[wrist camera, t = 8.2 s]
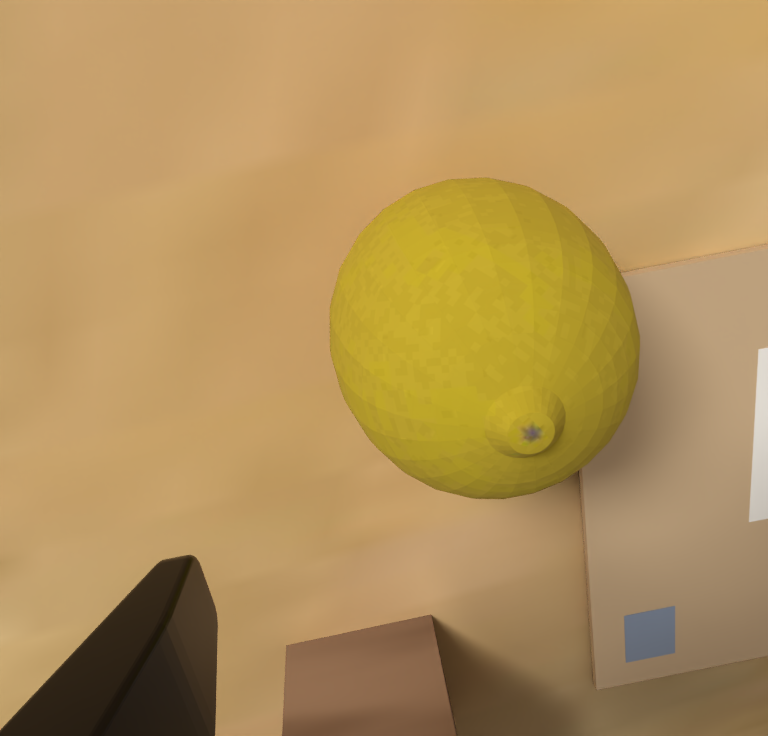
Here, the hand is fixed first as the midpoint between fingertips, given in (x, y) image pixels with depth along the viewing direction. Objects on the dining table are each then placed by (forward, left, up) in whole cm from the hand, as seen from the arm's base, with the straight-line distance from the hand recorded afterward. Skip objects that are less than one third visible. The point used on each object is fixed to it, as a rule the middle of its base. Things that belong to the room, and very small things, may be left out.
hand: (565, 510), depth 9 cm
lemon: (0, 0, -10) cm, 10 cm away
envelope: (-8, -8, -10) cm, 15 cm away
